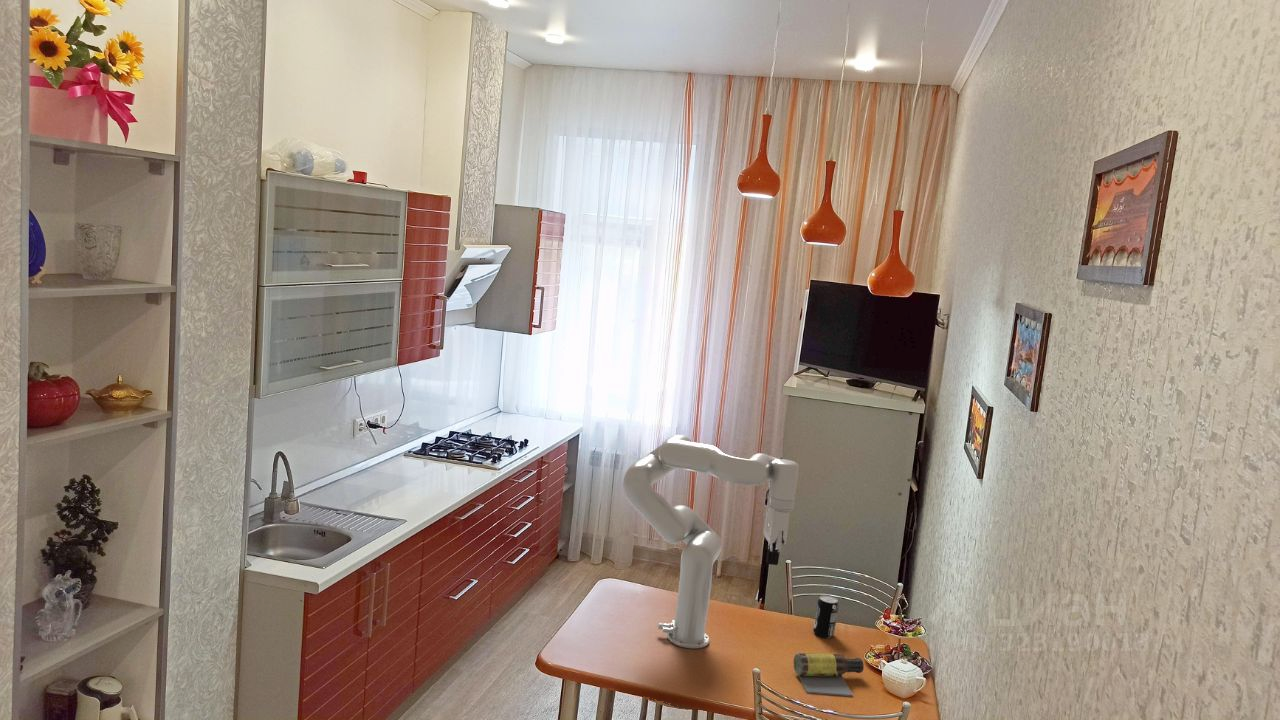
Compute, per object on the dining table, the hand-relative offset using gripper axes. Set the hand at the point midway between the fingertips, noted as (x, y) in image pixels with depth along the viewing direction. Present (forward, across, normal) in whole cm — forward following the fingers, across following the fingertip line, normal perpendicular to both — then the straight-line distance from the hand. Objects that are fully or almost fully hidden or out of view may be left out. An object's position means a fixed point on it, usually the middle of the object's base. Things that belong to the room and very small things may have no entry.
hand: (771, 563), depth 267 cm
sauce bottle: (+25, +10, +9) cm, 29 cm away
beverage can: (+29, -20, +25) cm, 43 cm away
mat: (+29, +12, +16) cm, 35 cm away
